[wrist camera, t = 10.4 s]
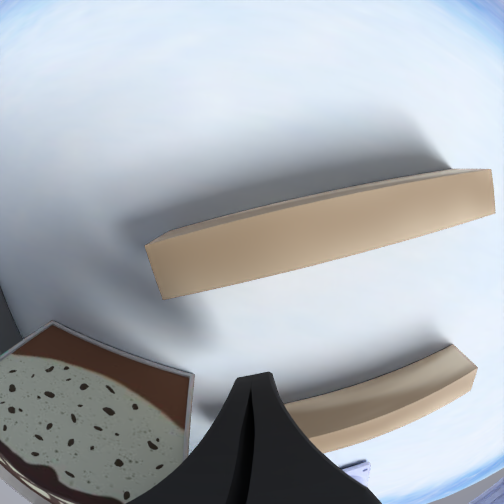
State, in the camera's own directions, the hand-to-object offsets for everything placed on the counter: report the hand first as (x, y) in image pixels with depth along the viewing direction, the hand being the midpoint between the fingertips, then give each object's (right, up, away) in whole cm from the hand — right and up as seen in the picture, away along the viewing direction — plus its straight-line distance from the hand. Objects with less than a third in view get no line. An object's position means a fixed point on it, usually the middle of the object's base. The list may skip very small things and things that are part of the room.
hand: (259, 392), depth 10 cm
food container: (-9, -3, +4) cm, 10 cm away
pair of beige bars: (+5, +2, +3) cm, 6 cm away
